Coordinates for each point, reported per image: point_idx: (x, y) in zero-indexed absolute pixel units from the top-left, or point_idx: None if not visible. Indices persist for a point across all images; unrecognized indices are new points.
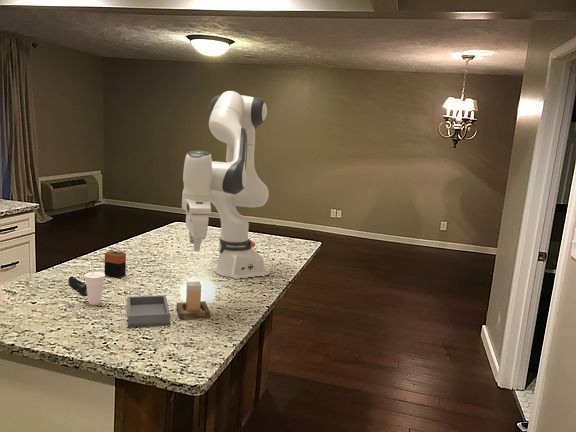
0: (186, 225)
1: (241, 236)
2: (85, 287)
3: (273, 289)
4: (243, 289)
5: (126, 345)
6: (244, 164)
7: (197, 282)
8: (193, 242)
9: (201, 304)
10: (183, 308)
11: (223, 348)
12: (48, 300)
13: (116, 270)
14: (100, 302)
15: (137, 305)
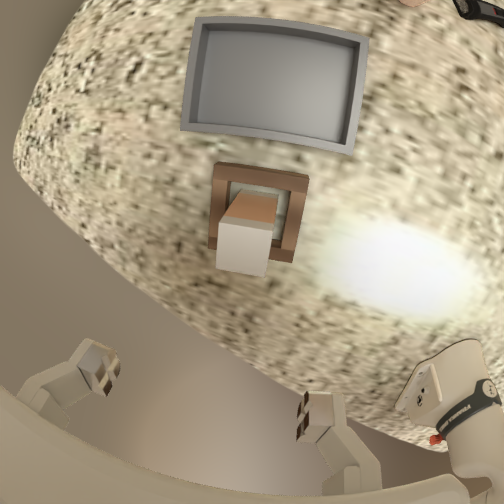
0: (417, 496)
1: (451, 444)
2: (472, 1)
3: None
4: (361, 362)
5: (116, 34)
6: None
7: (253, 267)
8: (301, 408)
9: (279, 246)
10: (290, 192)
11: (76, 218)
12: None
13: None
14: (402, 1)
15: (344, 66)
